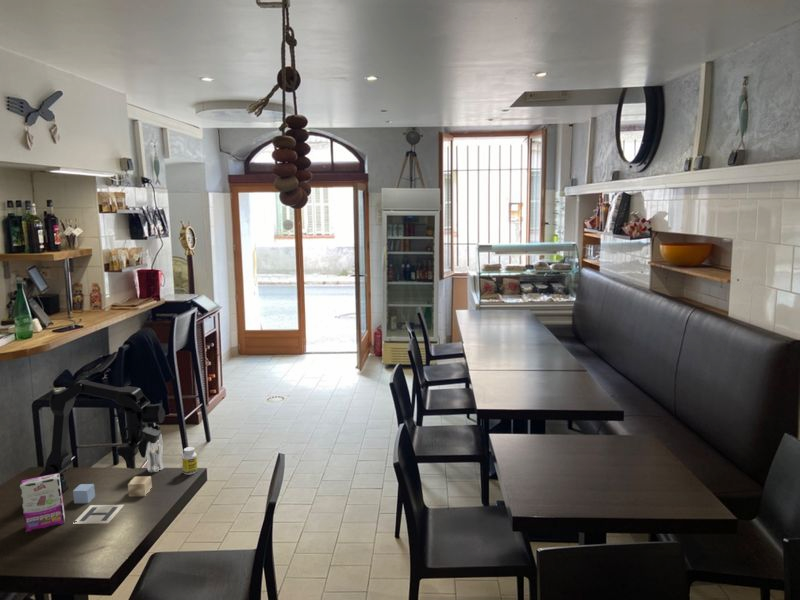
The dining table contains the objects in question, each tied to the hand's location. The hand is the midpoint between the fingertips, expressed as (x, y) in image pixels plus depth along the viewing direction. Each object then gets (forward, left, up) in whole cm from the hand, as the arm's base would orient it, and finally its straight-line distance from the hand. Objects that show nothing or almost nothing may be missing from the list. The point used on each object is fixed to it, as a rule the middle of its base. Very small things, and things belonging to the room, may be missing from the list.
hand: (138, 462), depth 214 cm
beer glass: (-2, +19, -12) cm, 23 cm away
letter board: (-8, -15, -12) cm, 21 cm away
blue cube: (-18, -5, -12) cm, 22 cm away
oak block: (0, 0, -12) cm, 12 cm away
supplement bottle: (+13, +16, -12) cm, 24 cm away
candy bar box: (-23, -21, -12) cm, 33 cm away
